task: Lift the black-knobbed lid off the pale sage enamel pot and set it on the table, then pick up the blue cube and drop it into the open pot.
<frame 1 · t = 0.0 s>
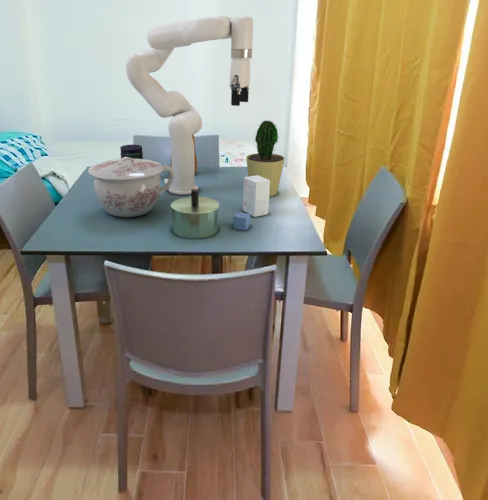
hand: (239, 103, 183), 37 cm above the table, tool pointing down, fingers open, 9 cm apart
small box: (255, 213, 182), on the table
storage jar: (133, 180, 222), on the table
potted cactus: (263, 193, 203), on the table
pot: (195, 229, 167), on the table
lid: (194, 206, 164), point 8 cm above the table, touching pot
blue cube: (241, 227, 169), on the table
chamber pot: (129, 211, 184), on the table
coffee package: (183, 173, 231), on the table
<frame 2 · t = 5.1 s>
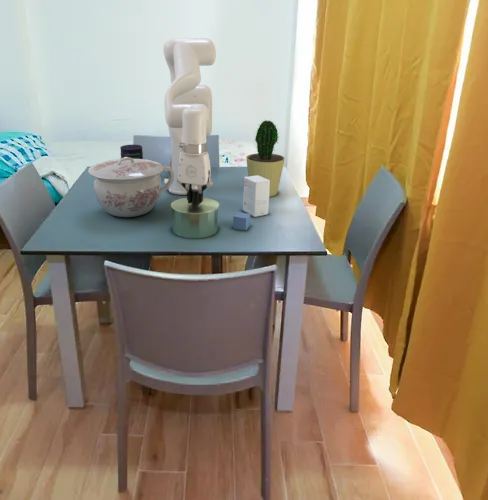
hand: (194, 202, 163), 10 cm above the table, tool pointing down, fingers closed on lid, 2 cm apart
lid: (194, 206, 164), point 9 cm above the table, touching gripper, pot
everything else where it was.
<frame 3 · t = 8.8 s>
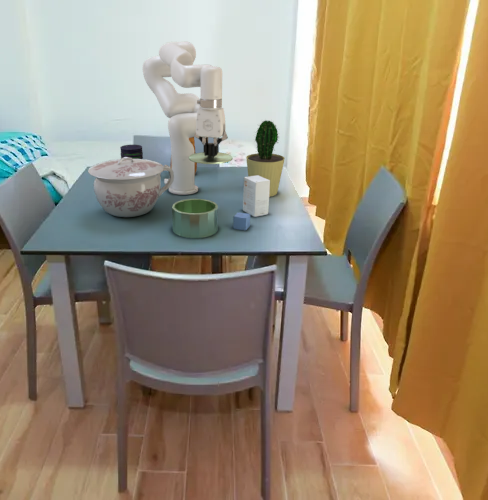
hand: (210, 155, 180), 20 cm above the table, tool pointing down, fingers closed on lid, 2 cm apart
lid: (210, 158, 180), point 19 cm above the table, touching gripper
everything else where it was.
when the fingers open (2 cm above the table, at t = 12.9 s): lid stays where it is, point 1 cm above the table.
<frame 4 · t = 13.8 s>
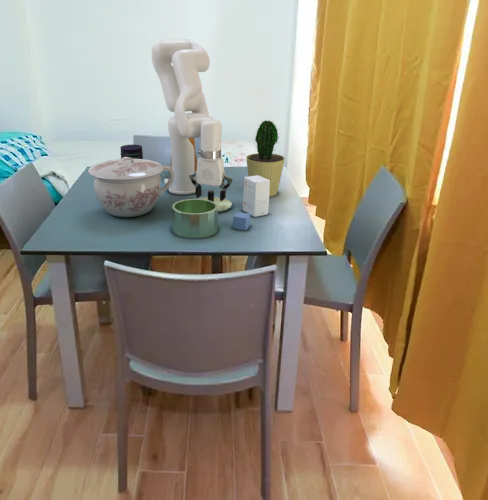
hand: (210, 198, 187), 3 cm above the table, tool pointing down, fingers open, 9 cm apart
lid: (210, 205, 188), point 1 cm above the table
everything else where it was.
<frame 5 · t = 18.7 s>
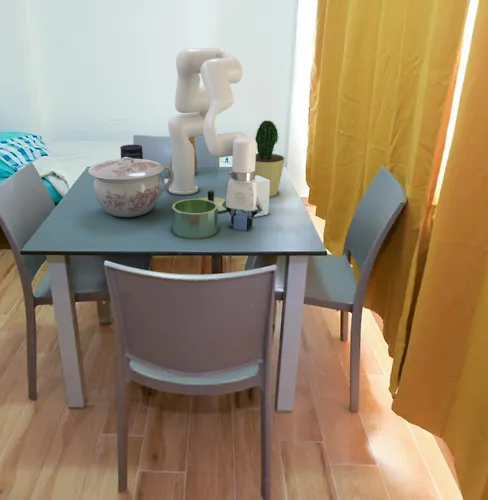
hand: (241, 226, 168), 0 cm above the table, tool pointing down, fingers closed on blue cube, 4 cm apart
blue cube: (241, 227, 169), on the table, touching gripper
everything else where it was.
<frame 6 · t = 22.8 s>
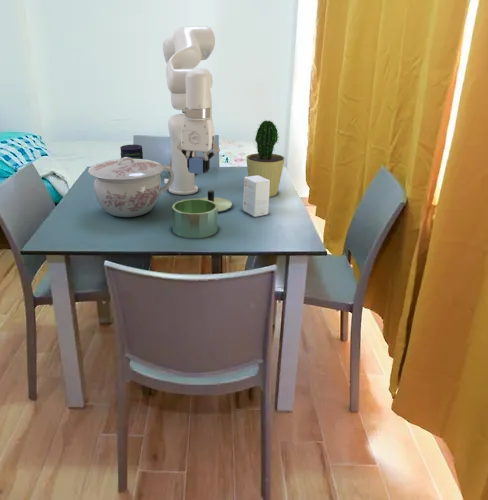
hand: (198, 170, 159), 21 cm above the table, tool pointing down, fingers closed on blue cube, 4 cm apart
blue cube: (198, 171, 159), point 20 cm above the table, touching gripper
everything else where it was.
when the fingers open (5 cm above the table, at t = 26.9 s): blue cube drops 4 cm, resting on pot.
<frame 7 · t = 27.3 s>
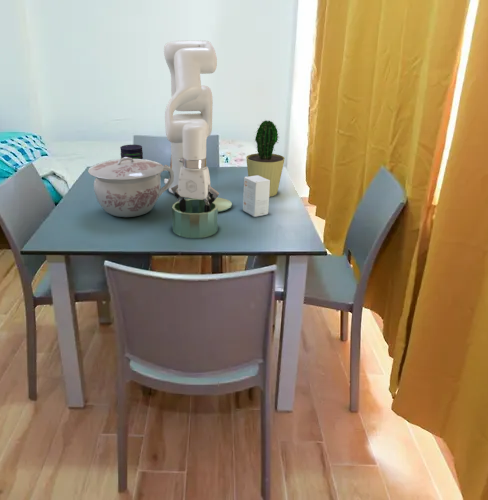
hand: (194, 213, 165), 6 cm above the table, tool pointing down, fingers open, 8 cm apart
blue cube: (195, 228, 167), resting on pot
everything else where it was.
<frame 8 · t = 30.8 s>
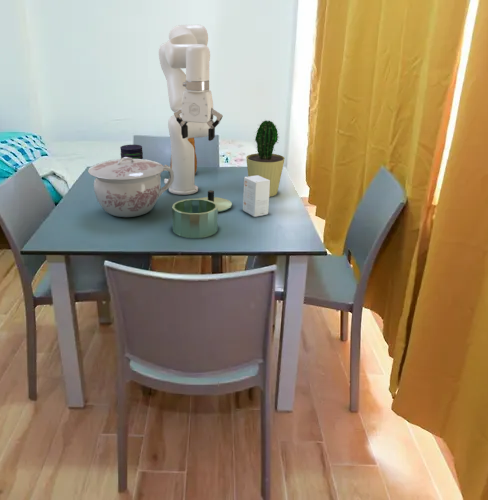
hand: (197, 138, 167), 28 cm above the table, tool pointing down, fingers open, 9 cm apart
nothing on the table moved.
at the end: blue cube inside the target area in the pot (0.0 cm from its centre), point 0.5 cm above the pot's base; lid point 0.6 cm above the table; lid inside the target area on the table beside the pot (0.3 cm from its centre), point 0.6 cm above the table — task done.
